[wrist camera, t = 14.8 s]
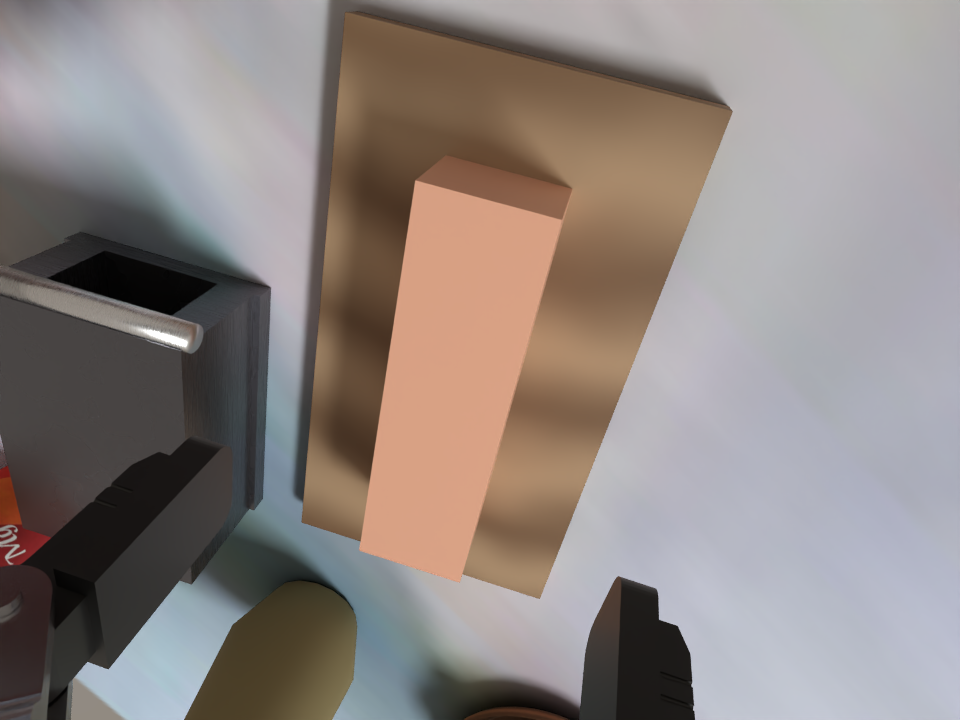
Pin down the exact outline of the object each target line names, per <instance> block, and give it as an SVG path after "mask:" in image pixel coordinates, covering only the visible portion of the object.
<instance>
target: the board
mask: <svg viewBox="0 0 960 720" xmlns="http://www.w3.org/2000/svg"><path fill="white" fill-rule="evenodd" d="M732 112H733V111H732V110H731V109H730V107H729V106H726V105H722V104H718V103H714V102H710V101H706V100H702V99H698V98H694V97H690V96H687V95H683V94H679V93H675V92H671V91H667V90H663V89H659V88H655V87H651V86H647V85H644V84H640V83H636V82H632V81H628V80H624V79H620V78H616V77H612V76H608V75H604V74H601V73H597V72H593V71H589V70H585V69H581V68H577V67H573V66H569V65H565V64H561V63H557V62H554V61H550V60H546V59H542V58H538V57H534V56H530V55H526V54H522V53H518V52H514V51H511V50H507V49H503V48H499V47H495V46H491V45H487V44H483V43H479V42H475V41H471V40H468V39H464V38H460V37H456V36H452V35H448V34H444V33H440V32H436V31H432V30H428V29H424V28H421V27H417V26H413V25H409V24H405V23H401V22H397V21H393V20H389V19H385V18H381V17H378V16H374V15H370V14H366V13H362V12H358V11H355V12H345V18H344V30H343V42H342V54H341V65H340V77H339V89H338V101H337V112H336V124H335V136H334V148H333V159H332V171H331V183H330V195H329V206H328V218H327V230H326V242H325V253H324V265H323V277H322V289H321V300H320V312H319V324H318V336H317V348H316V359H315V371H314V383H313V395H312V406H311V418H310V430H309V442H308V453H307V465H306V477H305V489H304V500H303V512H302V523H305V524H308V525H311V526H314V527H318V528H321V529H324V530H327V531H330V532H333V533H336V534H339V535H342V536H346V537H349V538H352V539H355V540H358V541H361V536H362V530H363V523H364V516H365V510H366V503H367V496H368V490H369V483H370V477H371V470H372V463H373V457H374V450H375V444H376V437H377V430H378V424H379V417H380V411H381V404H382V397H383V391H384V384H385V377H386V371H387V364H388V358H389V351H390V344H391V338H392V331H393V325H394V318H395V311H396V305H397V298H398V292H399V285H400V278H401V272H402V265H403V259H404V252H405V245H406V239H407V232H408V225H409V219H410V212H411V206H412V199H413V192H414V186H415V180H416V179H418V178H419V177H420V176H421V175H422V174H424V173H425V172H426V171H427V170H429V169H430V168H431V167H432V166H433V165H435V164H436V163H437V162H438V161H440V160H441V159H442V158H443V157H444V156H446V155H447V156H451V157H455V158H459V159H462V160H466V161H470V162H474V163H477V164H481V165H485V166H489V167H492V168H496V169H500V170H504V171H507V172H511V173H515V174H519V175H522V176H526V177H530V178H534V179H537V180H541V181H545V182H549V183H552V184H556V185H560V186H564V187H567V188H571V189H572V193H571V196H570V200H569V203H568V207H567V210H566V214H565V217H564V221H563V225H562V228H561V232H560V235H559V239H558V242H557V246H556V249H555V253H554V256H553V260H552V263H551V267H550V270H549V274H548V277H547V281H546V284H545V288H544V292H543V295H542V299H541V302H540V306H539V309H538V313H537V316H536V320H535V323H534V327H533V330H532V334H531V337H530V341H529V344H528V348H527V351H526V355H525V359H524V362H523V366H522V369H521V373H520V376H519V380H518V383H517V387H516V390H515V394H514V397H513V401H512V404H511V408H510V411H509V415H508V418H507V422H506V426H505V429H504V433H503V436H502V440H501V443H500V447H499V450H498V454H497V457H496V461H495V464H494V468H493V471H492V475H491V478H490V482H489V485H488V489H487V492H486V496H485V500H484V503H483V507H482V510H481V514H480V517H479V521H478V524H477V527H476V531H475V534H474V537H473V541H472V544H471V547H470V551H469V554H468V557H467V560H466V564H465V567H464V570H463V574H464V575H467V576H470V577H473V578H476V579H479V580H482V581H485V582H489V583H492V584H495V585H498V586H501V587H504V588H507V589H510V590H513V591H517V592H520V593H523V594H526V595H529V596H532V597H535V598H538V599H540V597H541V594H542V592H543V589H544V587H545V584H546V582H547V579H548V577H549V574H550V572H551V569H552V567H553V564H554V561H555V559H556V556H557V554H558V551H559V549H560V546H561V544H562V541H563V539H564V536H565V534H566V531H567V529H568V526H569V524H570V521H571V519H572V516H573V514H574V511H575V508H576V506H577V503H578V501H579V498H580V496H581V493H582V491H583V488H584V486H585V483H586V481H587V478H588V476H589V473H590V471H591V468H592V466H593V463H594V461H595V458H596V455H597V453H598V450H599V448H600V445H601V443H602V440H603V438H604V435H605V433H606V430H607V428H608V425H609V423H610V420H611V418H612V415H613V413H614V410H615V407H616V405H617V402H618V400H619V397H620V395H621V392H622V390H623V387H624V385H625V382H626V380H627V377H628V375H629V372H630V370H631V367H632V365H633V362H634V360H635V357H636V354H637V352H638V349H639V347H640V344H641V342H642V339H643V337H644V334H645V332H646V329H647V327H648V324H649V322H650V319H651V317H652V314H653V312H654V309H655V307H656V304H657V301H658V299H659V296H660V294H661V291H662V289H663V286H664V284H665V281H666V279H667V276H668V274H669V271H670V269H671V266H672V264H673V261H674V259H675V256H676V253H677V251H678V248H679V246H680V243H681V241H682V238H683V236H684V233H685V231H686V228H687V226H688V223H689V221H690V218H691V216H692V213H693V211H694V208H695V206H696V203H697V200H698V198H699V195H700V193H701V190H702V188H703V185H704V183H705V180H706V178H707V175H708V173H709V170H710V168H711V165H712V163H713V160H714V158H715V155H716V152H717V150H718V147H719V145H720V142H721V140H722V137H723V135H724V132H725V130H726V127H727V125H728V122H729V120H730V117H731V115H732Z"/></svg>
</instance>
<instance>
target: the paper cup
mask: <svg viewBox="0 0 960 720" xmlns="http://www.w3.org/2000/svg"><path fill="white" fill-rule="evenodd" d="M50 538H51V537H48V536H45V535H42V534H39V533H36V532H33V531H30V530H27V529H24V528H23V526H22V522H21V518H20V514H19V510H18V506H17V501H16V497H15V493H14V489H13V485H12V481H11V476H10V472H9V468H8V466H6V467H4V468H2V469H0V567H3V566H8V565H20V564H22V563H23V562H25V561H26V560H27V559H28V558H29V557H31V556H32V555H33V554H34V553H35V552H36V551H37V550H38V549H39V548H41V547H42V546H43V545H44V544H45V543H46V542H47V541H48V540H49V539H50Z"/></svg>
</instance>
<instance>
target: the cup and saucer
mask: <svg viewBox="0 0 960 720" xmlns="http://www.w3.org/2000/svg"><path fill="white" fill-rule="evenodd" d="M464 720H569V719H566V718H564V717H562V716H559V715H556V714H553V713H550V712H547V711H543V710H538V709H533V708H526V707H497V708H491V709H487V710H483V711H480V712H478V713H475V714H473V715H471V716H469V717H467V718H465V719H464Z"/></svg>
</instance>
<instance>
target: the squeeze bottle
mask: <svg viewBox="0 0 960 720" xmlns="http://www.w3.org/2000/svg"><path fill="white" fill-rule="evenodd" d="M356 636H357V622H356V615H355V613H354V612H353V610H352V609H351V607H350V606H349V604H348V603H347V601H345V600H344V599H343V598H342V597H340V596H339V595H338V594H337V593H335V592H334V591H333V590H330V589H328V588H326V587H324V586H322V585H319V584H317V583H312V582H306V581H300V580H299V581H293V582H286V583H284V584H283V585H281V586H280V587H279V588H277V589H276V590H275V591H273V592H272V593H271V594H270V595H269V596H267V597H266V598H265V599H264V600H262V601H261V602H260V603H259V604H258V605H256V606H255V607H254V608H253V609H251V610H250V611H249V612H248V613H247V614H245V615H244V616H243V617H242V618H240V619H239V620H238V621H237V622H236V623H234V624H233V625H232V627H231V629H230V631H229V633H228V635H227V637H226V639H225V641H224V643H223V645H222V647H221V649H220V651H219V653H218V655H217V657H216V659H215V660H214V662H213V664H212V666H211V668H210V670H209V672H208V674H207V676H206V678H205V680H204V682H203V684H202V686H201V688H200V690H199V692H198V694H197V696H196V698H195V700H194V702H193V703H192V705H191V707H190V709H189V711H188V713H187V715H186V717H185V719H184V720H332V719H333V717H334V715H335V713H336V711H337V709H338V708H339V706H340V704H341V702H342V700H343V698H344V696H345V695H346V693H347V691H348V689H349V687H350V685H351V683H352V681H353V676H354V663H355V649H356Z"/></svg>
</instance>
